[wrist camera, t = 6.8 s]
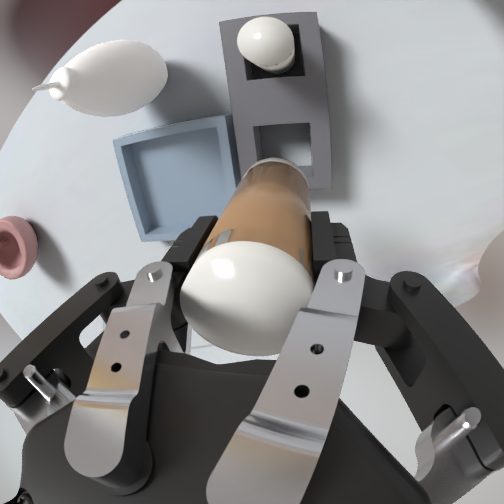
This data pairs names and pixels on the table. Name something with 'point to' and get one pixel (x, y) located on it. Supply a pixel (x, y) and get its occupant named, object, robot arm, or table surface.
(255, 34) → the cylinder
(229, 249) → the cylinder
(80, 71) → the sauce bottle
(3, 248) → the mortar and pestle
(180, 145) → the parts tray
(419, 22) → the table surface
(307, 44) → the block
